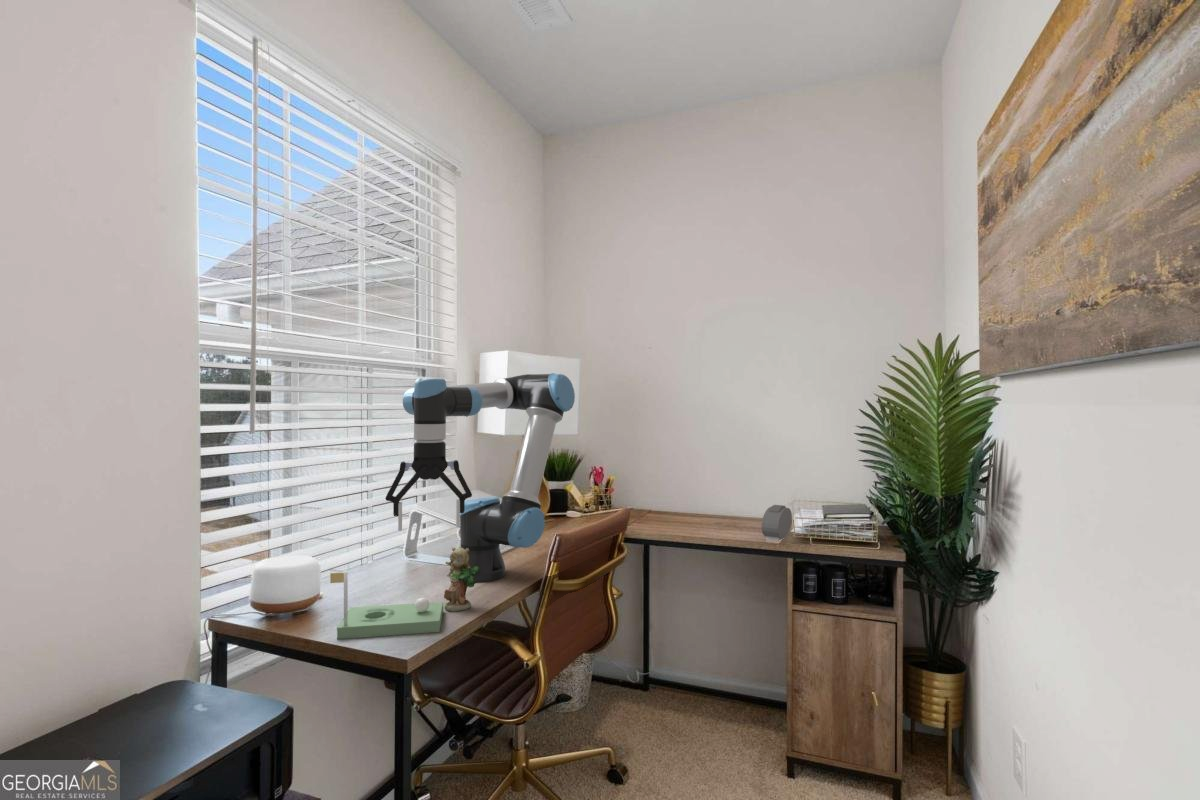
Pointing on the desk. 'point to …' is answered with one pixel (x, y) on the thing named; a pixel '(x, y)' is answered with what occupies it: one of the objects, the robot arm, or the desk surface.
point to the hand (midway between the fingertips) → (429, 528)
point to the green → (390, 620)
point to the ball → (421, 605)
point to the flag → (341, 578)
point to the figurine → (459, 580)
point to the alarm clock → (776, 522)
